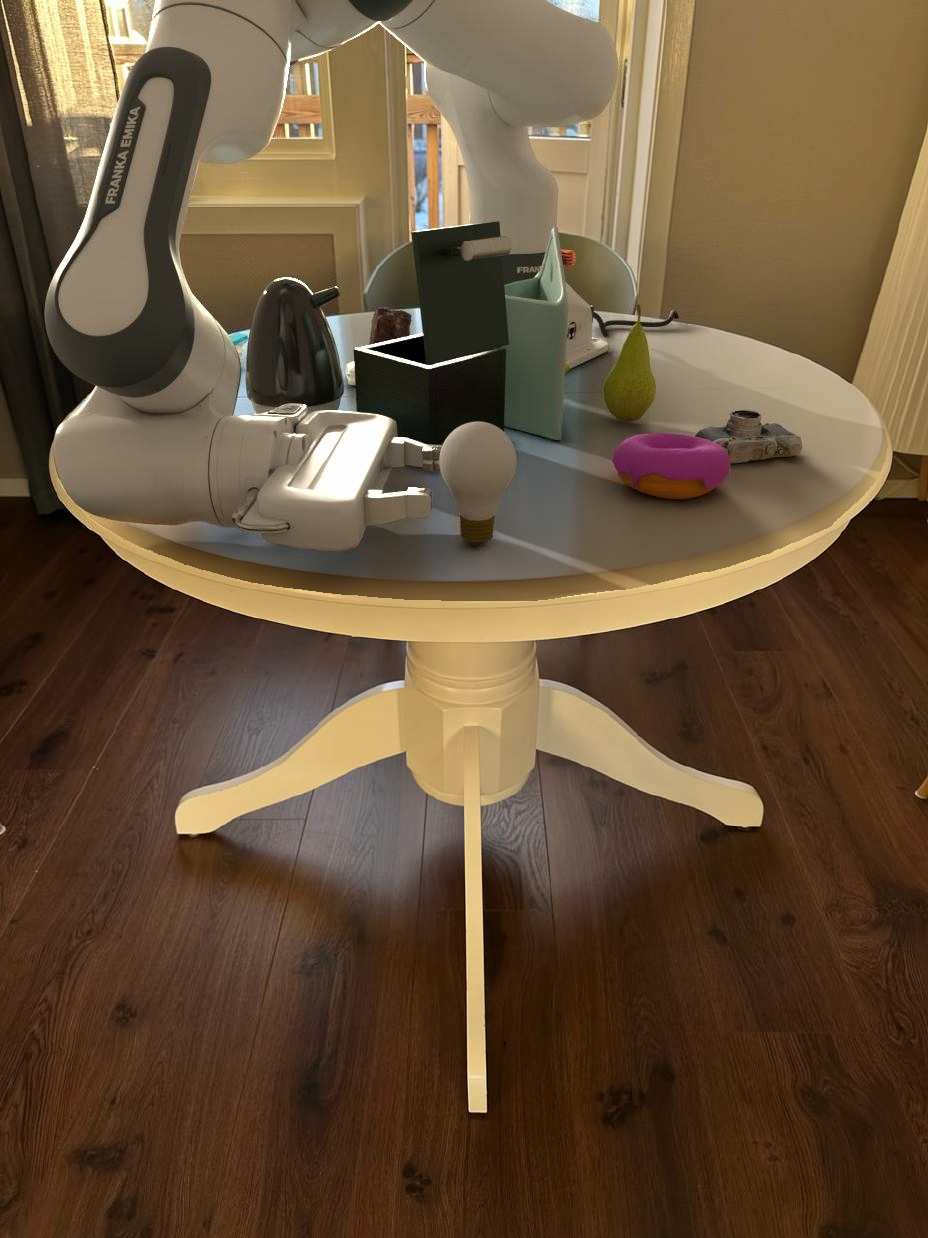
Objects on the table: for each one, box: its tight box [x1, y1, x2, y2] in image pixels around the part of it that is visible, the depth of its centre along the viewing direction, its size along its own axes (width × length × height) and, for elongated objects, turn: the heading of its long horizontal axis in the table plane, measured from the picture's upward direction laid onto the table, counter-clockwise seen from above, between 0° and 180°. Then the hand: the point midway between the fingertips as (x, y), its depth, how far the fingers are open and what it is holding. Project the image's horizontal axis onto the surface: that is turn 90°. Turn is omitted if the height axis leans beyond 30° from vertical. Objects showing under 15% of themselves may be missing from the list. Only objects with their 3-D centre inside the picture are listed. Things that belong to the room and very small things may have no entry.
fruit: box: [602, 303, 657, 422], centre depth 98 cm, size 6×6×12 cm
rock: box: [368, 305, 413, 346], centre depth 117 cm, size 11×6×8 cm, turn 173°
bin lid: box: [410, 221, 512, 364], centre depth 82 cm, size 11×11×4 cm
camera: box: [694, 409, 803, 465], centre depth 91 cm, size 5×10×4 cm, turn 100°
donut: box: [612, 432, 732, 500], centre depth 83 cm, size 10×10×5 cm
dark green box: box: [353, 333, 506, 469], centre depth 91 cm, size 11×11×10 cm
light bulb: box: [439, 422, 517, 547], centre depth 71 cm, size 6×6×10 cm
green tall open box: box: [500, 225, 568, 441], centre depth 97 cm, size 16×8×20 cm, turn 5°
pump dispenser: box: [245, 277, 345, 414], centre depth 95 cm, size 10×10×15 cm
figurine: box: [345, 361, 356, 387], centre depth 114 cm, size 2×8×5 cm
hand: (438, 479), depth 71 cm, fingers open, 8 cm apart
